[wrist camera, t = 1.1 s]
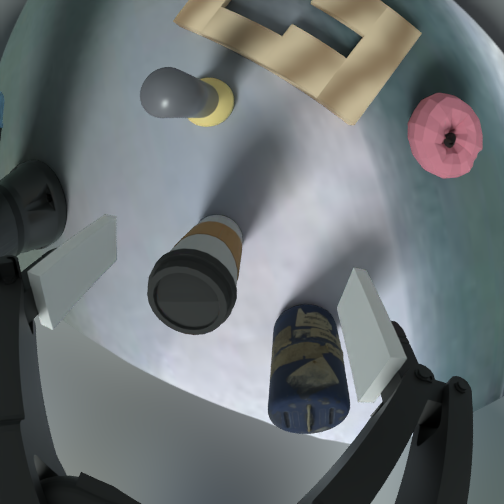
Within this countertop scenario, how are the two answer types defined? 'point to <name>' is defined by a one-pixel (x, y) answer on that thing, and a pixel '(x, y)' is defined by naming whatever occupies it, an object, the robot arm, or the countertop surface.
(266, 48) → the keyhole board
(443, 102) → the apple
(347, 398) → the canister
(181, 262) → the coffee cup
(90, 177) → the countertop surface
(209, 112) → the peg
